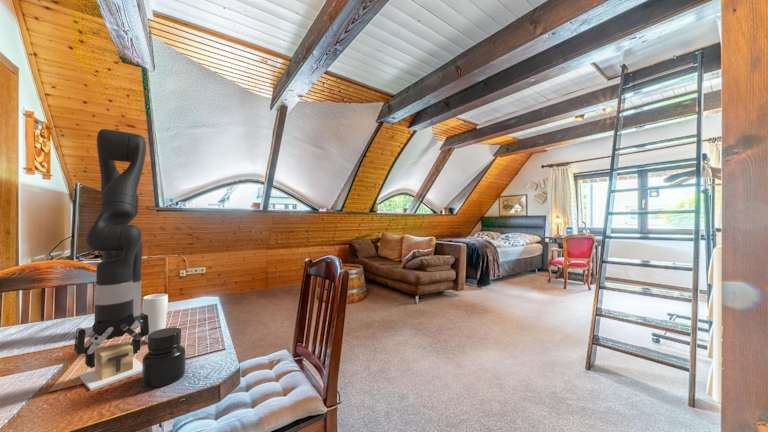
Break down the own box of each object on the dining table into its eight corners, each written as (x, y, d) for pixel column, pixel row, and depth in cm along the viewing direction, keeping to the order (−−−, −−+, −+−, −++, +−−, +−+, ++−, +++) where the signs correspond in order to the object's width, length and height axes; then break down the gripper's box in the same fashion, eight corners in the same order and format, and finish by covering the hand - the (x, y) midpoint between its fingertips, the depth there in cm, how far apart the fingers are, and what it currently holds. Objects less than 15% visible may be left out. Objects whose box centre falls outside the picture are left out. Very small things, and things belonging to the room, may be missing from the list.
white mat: (78, 376, 73) (78, 374, 73) (132, 358, 83) (132, 356, 83) (90, 391, 67) (90, 388, 67) (147, 370, 77) (147, 367, 77)
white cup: (153, 345, 91) (153, 299, 91) (136, 343, 92) (136, 298, 92) (172, 337, 97) (173, 294, 98) (156, 335, 99) (157, 292, 99)
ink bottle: (181, 365, 80) (182, 322, 80) (191, 376, 74) (192, 331, 74) (136, 380, 72) (136, 333, 72) (144, 394, 66) (144, 343, 66)
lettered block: (124, 362, 79) (124, 341, 79) (133, 369, 76) (133, 347, 76) (94, 372, 74) (95, 349, 74) (102, 380, 71) (102, 356, 71)
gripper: (142, 291, 83) (142, 345, 83) (72, 303, 71) (71, 367, 71) (153, 295, 79) (152, 352, 79) (79, 309, 67) (79, 376, 67)
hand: (114, 359), depth 75 cm, fingers open, 8 cm apart
